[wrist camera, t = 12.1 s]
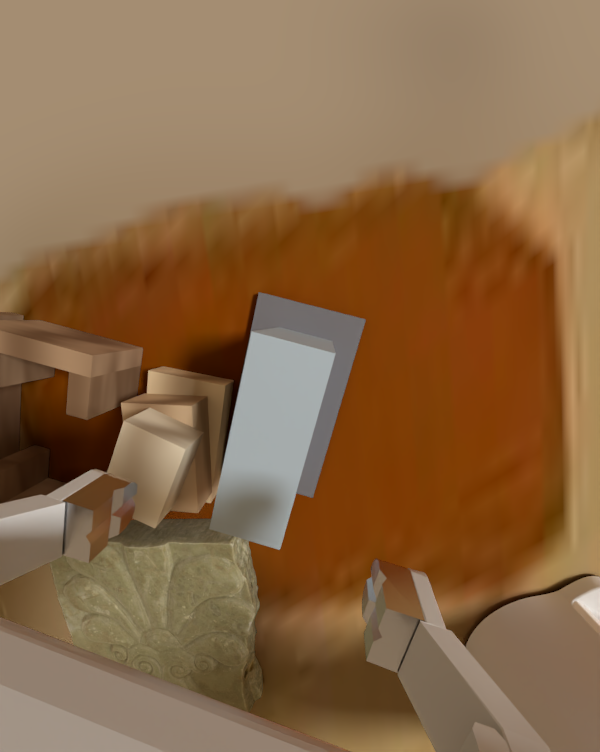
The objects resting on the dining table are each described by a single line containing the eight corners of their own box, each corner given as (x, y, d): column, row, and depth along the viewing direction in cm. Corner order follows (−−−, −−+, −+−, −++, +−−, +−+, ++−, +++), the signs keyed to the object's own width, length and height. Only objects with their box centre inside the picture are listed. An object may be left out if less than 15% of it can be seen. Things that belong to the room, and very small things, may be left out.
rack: (143, 347, 23) (63, 359, 16) (121, 513, 26) (48, 582, 19) (12, 312, 23) (-121, 309, 16) (8, 479, 26) (-103, 535, 20)
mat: (364, 319, 21) (365, 319, 20) (313, 493, 24) (312, 497, 23) (260, 292, 21) (258, 292, 20) (223, 468, 24) (221, 471, 23)
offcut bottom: (236, 378, 23) (225, 385, 21) (221, 485, 25) (210, 503, 23) (167, 365, 23) (148, 370, 21) (158, 471, 25) (140, 487, 23)
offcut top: (204, 432, 19) (185, 449, 16) (175, 503, 20) (155, 528, 17) (150, 407, 19) (123, 420, 16) (125, 479, 20) (97, 501, 18)
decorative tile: (114, 676, 31) (87, 721, 28) (68, 518, 27) (30, 546, 24) (278, 683, 29) (272, 732, 25) (252, 512, 25) (241, 542, 22)
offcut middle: (207, 396, 21) (191, 405, 18) (212, 492, 22) (198, 513, 20) (144, 393, 21) (120, 402, 19) (153, 487, 23) (132, 507, 20)
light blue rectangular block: (332, 340, 20) (335, 353, 13) (295, 471, 23) (279, 549, 15) (279, 327, 21) (251, 331, 13) (249, 458, 23) (209, 529, 15)
